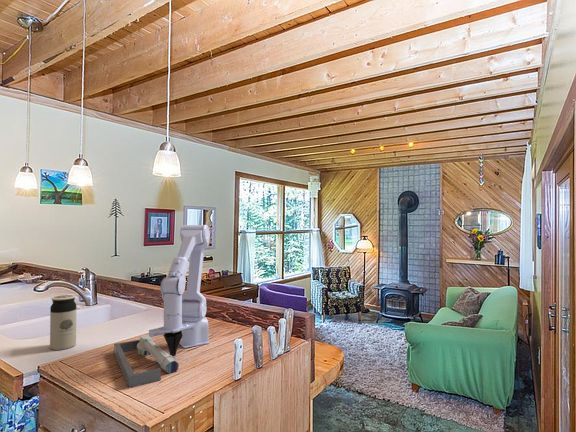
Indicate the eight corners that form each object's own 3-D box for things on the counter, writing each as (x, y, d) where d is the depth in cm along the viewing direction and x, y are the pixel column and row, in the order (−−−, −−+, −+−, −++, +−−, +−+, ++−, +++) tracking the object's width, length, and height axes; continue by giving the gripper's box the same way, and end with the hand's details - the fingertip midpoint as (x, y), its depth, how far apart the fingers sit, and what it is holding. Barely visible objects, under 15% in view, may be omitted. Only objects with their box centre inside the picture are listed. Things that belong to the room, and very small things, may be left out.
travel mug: (50, 345, 130) (50, 296, 130) (75, 341, 134) (76, 293, 135) (49, 352, 123) (50, 300, 124) (76, 347, 128) (76, 297, 128)
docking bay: (139, 347, 128) (139, 339, 128) (160, 380, 101) (160, 369, 102) (113, 352, 123) (113, 343, 123) (128, 387, 97) (128, 376, 97)
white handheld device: (164, 363, 104) (135, 331, 123) (163, 384, 105) (134, 350, 123) (181, 358, 108) (150, 328, 126) (180, 379, 109) (149, 346, 127)
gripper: (152, 319, 109) (152, 364, 109) (198, 313, 117) (198, 354, 117) (147, 314, 115) (147, 356, 115) (191, 308, 123) (191, 348, 123)
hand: (172, 355), depth 117 cm, fingers closed
